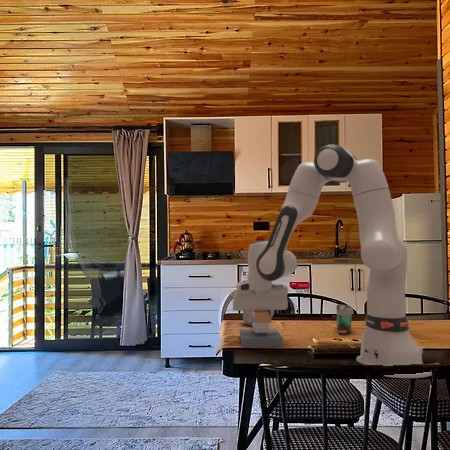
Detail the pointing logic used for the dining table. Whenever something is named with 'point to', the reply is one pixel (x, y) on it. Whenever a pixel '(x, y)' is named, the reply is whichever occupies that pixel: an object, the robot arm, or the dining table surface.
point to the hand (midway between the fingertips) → (260, 322)
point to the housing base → (260, 327)
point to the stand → (261, 338)
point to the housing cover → (260, 316)
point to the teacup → (247, 317)
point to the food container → (344, 319)
